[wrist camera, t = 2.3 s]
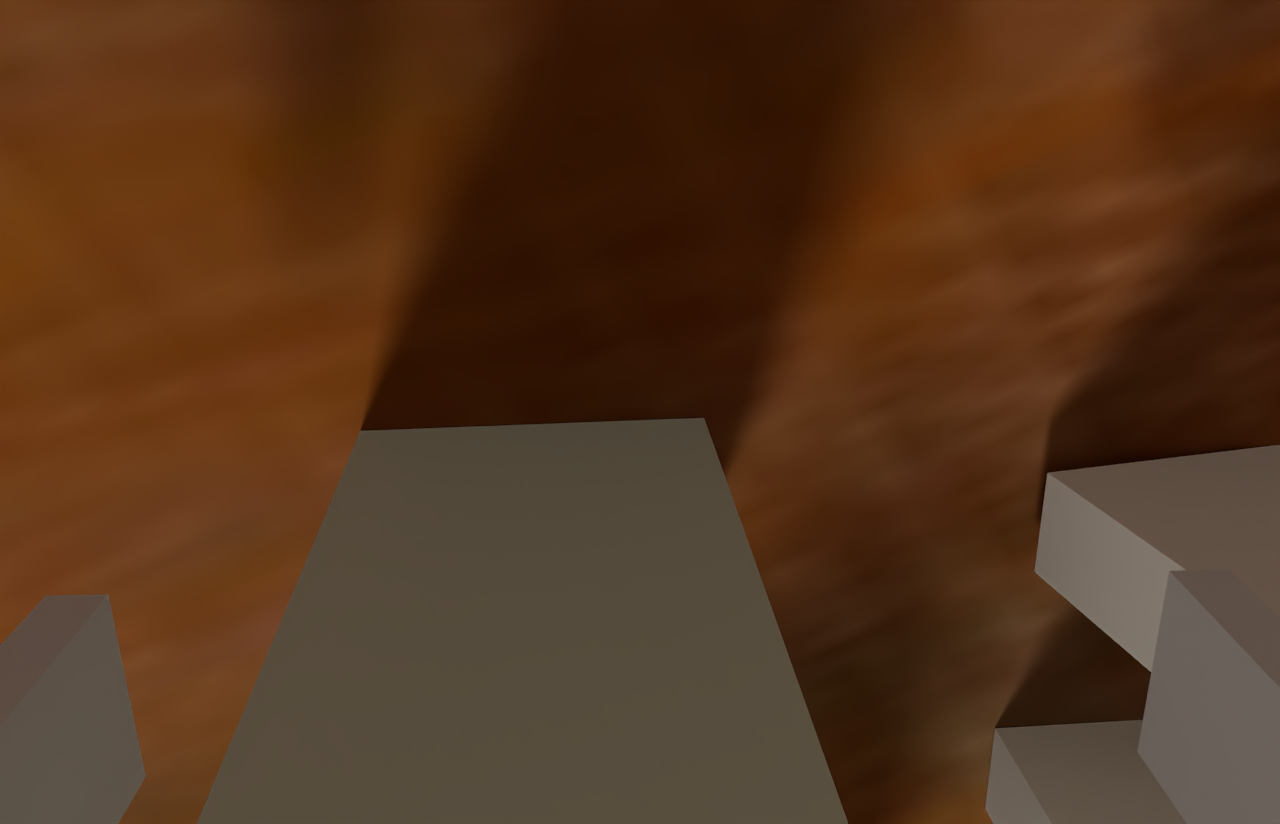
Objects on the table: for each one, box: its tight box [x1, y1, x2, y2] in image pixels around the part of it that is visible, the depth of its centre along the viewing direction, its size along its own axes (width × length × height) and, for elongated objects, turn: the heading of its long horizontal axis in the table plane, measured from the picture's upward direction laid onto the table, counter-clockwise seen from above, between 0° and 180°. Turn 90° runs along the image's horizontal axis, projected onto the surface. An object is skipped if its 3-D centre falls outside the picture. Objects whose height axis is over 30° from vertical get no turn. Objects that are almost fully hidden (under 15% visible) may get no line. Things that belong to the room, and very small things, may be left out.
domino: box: [197, 418, 848, 824], centre depth 15 cm, size 2×6×12 cm, turn 91°
